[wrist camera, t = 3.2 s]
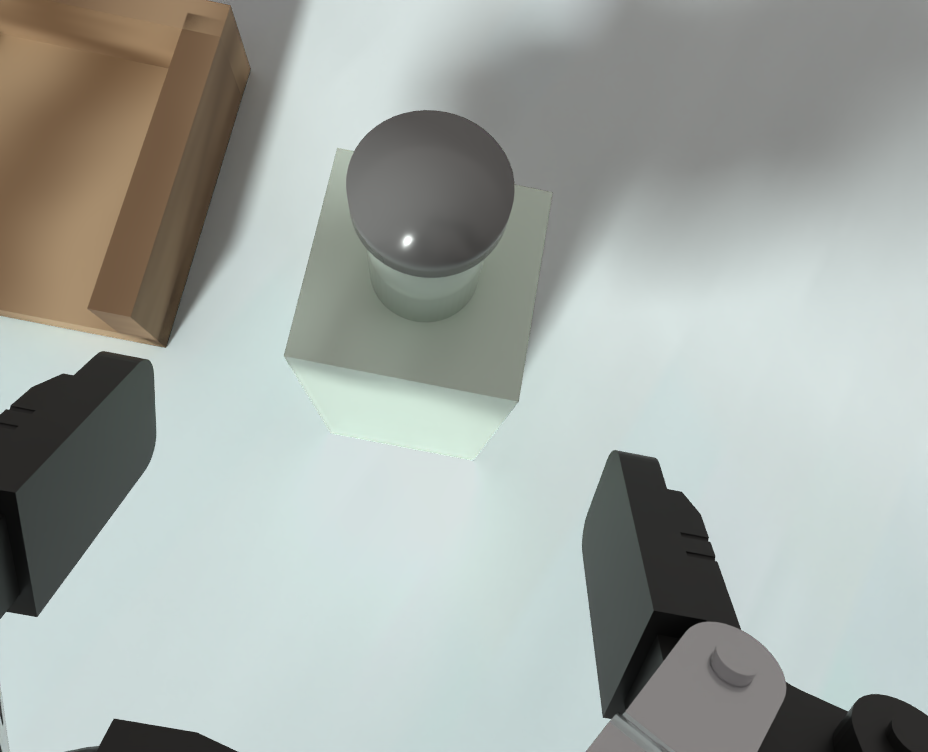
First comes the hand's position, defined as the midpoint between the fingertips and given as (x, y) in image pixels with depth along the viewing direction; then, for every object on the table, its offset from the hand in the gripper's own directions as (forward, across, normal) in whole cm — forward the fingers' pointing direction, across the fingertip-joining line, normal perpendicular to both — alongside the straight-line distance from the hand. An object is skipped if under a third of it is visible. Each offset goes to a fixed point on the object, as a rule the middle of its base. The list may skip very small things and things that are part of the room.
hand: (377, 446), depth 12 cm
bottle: (+10, 0, +4) cm, 11 cm away
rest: (+13, +13, +1) cm, 18 cm away
